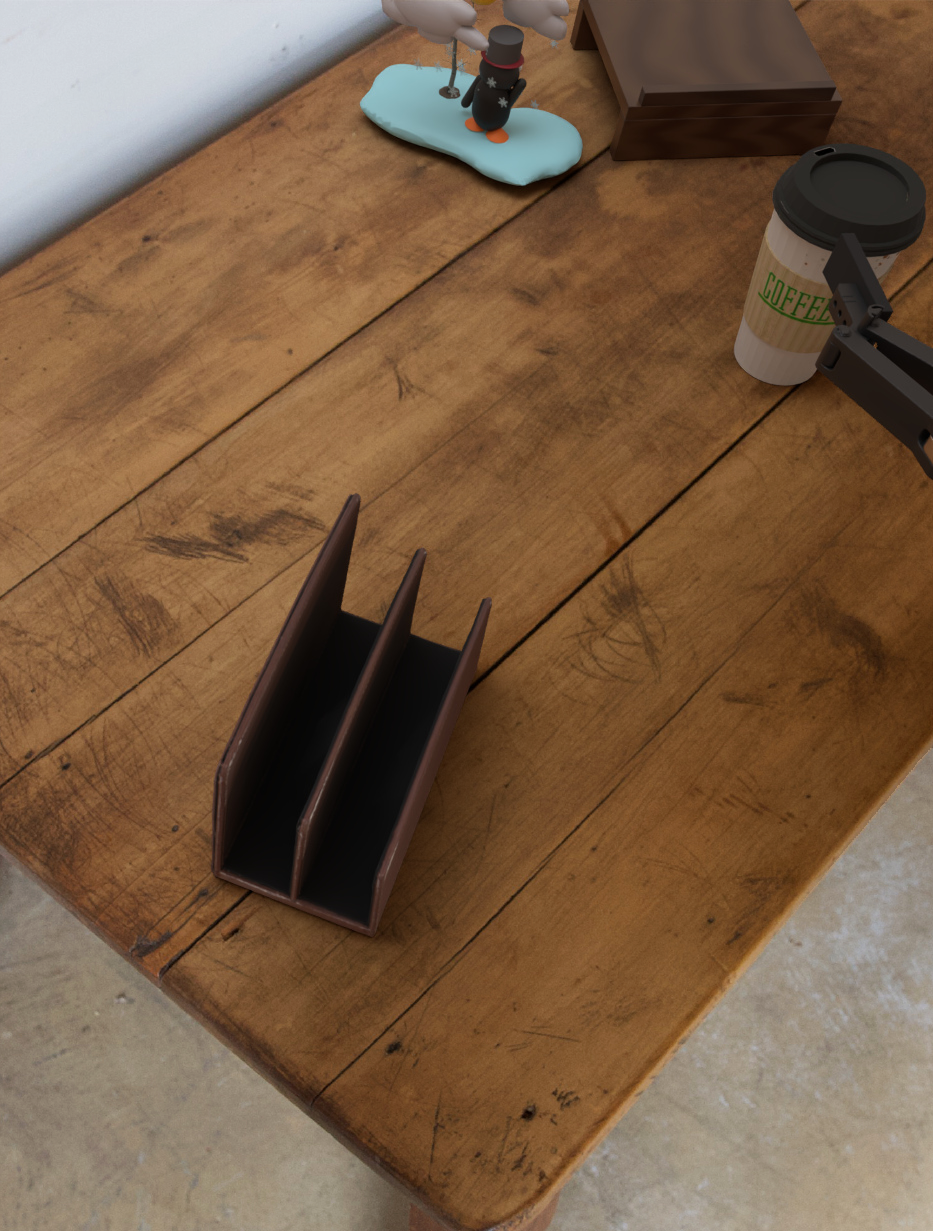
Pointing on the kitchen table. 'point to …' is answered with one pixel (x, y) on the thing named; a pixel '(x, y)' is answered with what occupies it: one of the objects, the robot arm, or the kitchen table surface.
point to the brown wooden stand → (709, 77)
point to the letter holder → (338, 746)
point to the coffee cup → (822, 251)
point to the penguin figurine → (476, 92)
